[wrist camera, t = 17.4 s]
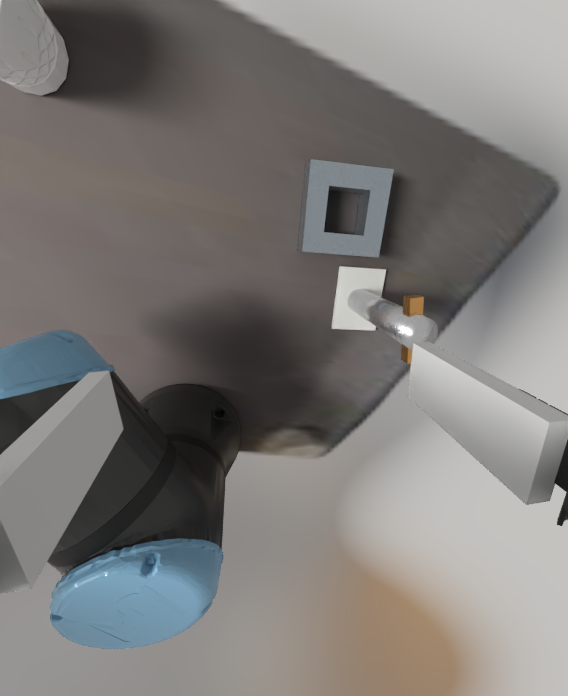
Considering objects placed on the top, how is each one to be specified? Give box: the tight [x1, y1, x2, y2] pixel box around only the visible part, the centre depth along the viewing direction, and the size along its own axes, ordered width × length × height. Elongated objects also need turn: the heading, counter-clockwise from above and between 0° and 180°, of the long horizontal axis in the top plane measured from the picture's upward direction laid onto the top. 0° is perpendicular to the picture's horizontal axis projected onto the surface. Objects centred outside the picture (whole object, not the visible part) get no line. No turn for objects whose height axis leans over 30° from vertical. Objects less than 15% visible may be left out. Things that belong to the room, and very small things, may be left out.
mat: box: [331, 266, 386, 330], centre depth 41 cm, size 8×6×1 cm
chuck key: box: [347, 289, 438, 364], centre depth 34 cm, size 3×6×15 cm, turn 5°
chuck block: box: [297, 159, 394, 257], centre depth 36 cm, size 9×9×3 cm
